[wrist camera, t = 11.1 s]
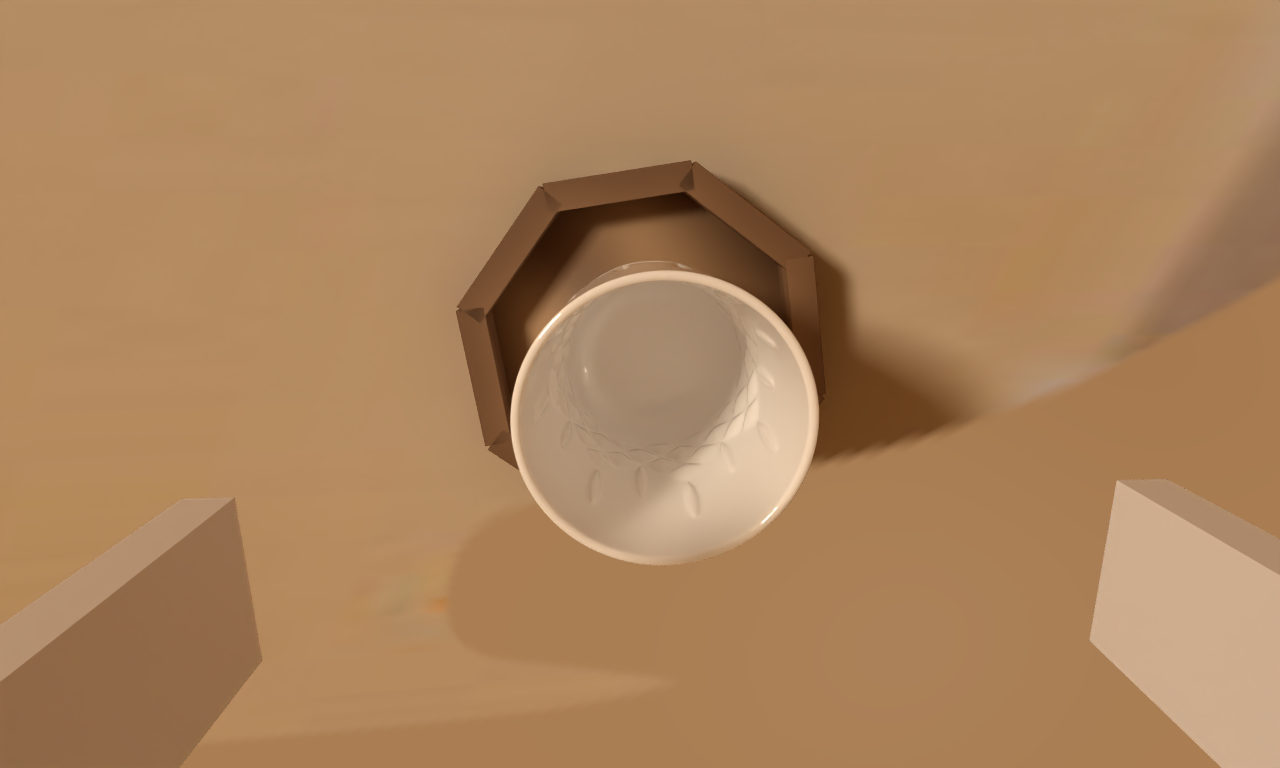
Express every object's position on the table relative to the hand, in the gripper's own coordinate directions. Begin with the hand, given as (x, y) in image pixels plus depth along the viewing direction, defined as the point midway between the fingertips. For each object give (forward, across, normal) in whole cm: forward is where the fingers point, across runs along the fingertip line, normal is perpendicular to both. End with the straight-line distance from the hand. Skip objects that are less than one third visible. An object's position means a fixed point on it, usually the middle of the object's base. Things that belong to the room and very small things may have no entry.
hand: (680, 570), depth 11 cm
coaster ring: (+18, 0, 0) cm, 18 cm away
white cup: (+18, 0, 0) cm, 18 cm away
